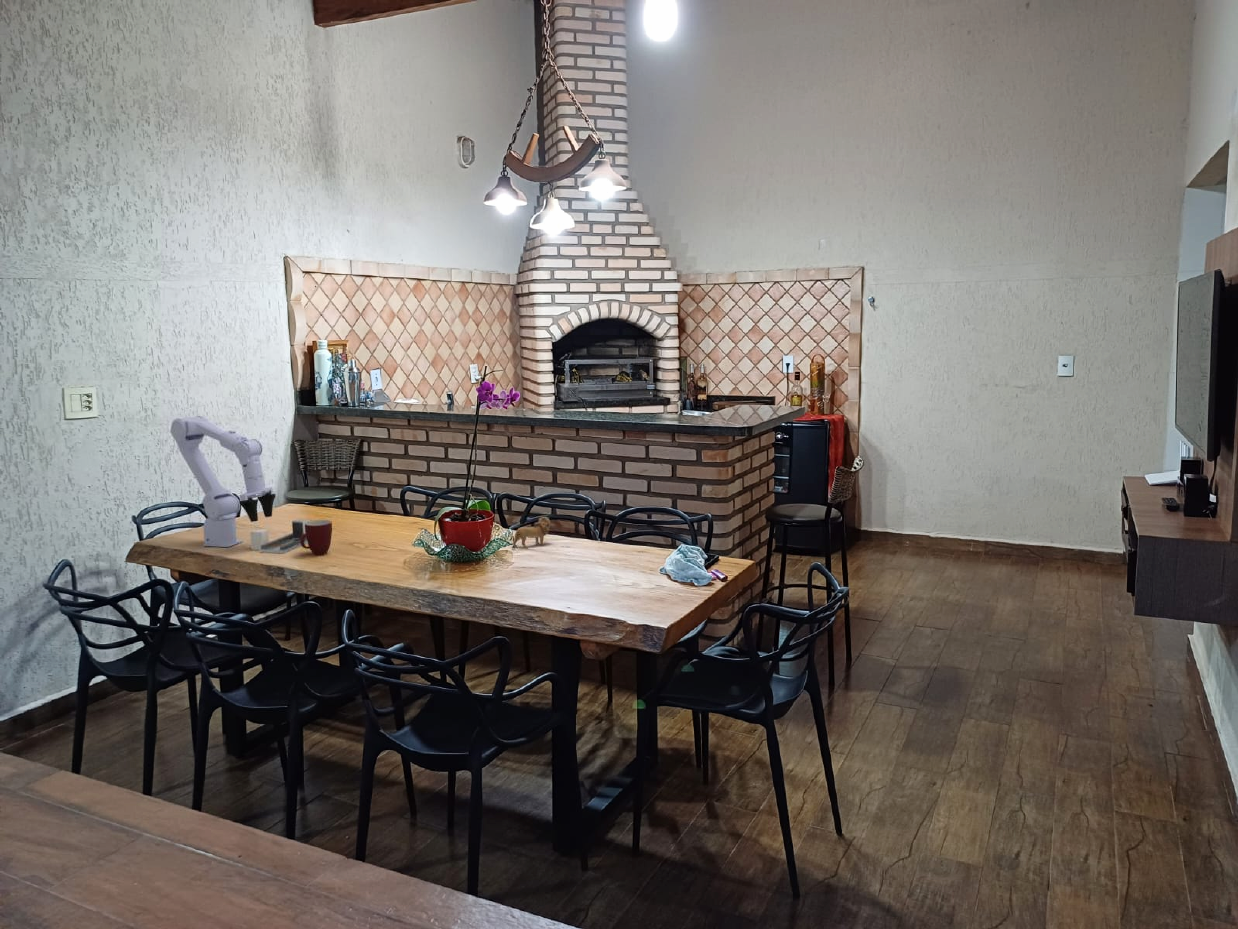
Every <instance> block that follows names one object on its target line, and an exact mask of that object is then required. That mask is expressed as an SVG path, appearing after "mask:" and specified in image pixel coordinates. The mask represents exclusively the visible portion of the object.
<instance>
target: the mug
mask: <svg viewBox="0 0 1238 929" xmlns="http://www.w3.org/2000/svg"><path fill="white" fill-rule="evenodd" d="M332 534H333V523H332V521H331V520H328V519H318V520H317V519H316V520H309V522H306V523H305V534H303V535H302V537H301V540H300V543H301V546H300V547H302V548H303V549H306V550H307V549H308V550H310V552H311V553H312V554H313V555H314V556H323V555H326V554H327V553H328V551H329V550H330V547H331V545H332V544H331V542H332ZM305 538H307V542H308V543H307V545H308V546H307V545H306V544H305V543H304V541H305Z"/></svg>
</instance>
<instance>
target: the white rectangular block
mask: <svg viewBox="0 0 1238 929" xmlns="http://www.w3.org/2000/svg"><path fill="white" fill-rule="evenodd" d="M269 538H270V537H269V529H258V528H257V529H254V530H252V531H250V546H251V550H252V551H261V545H264V544H266V543H269V540H270V539H269Z"/></svg>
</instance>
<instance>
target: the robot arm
mask: <svg viewBox="0 0 1238 929" xmlns="http://www.w3.org/2000/svg"><path fill="white" fill-rule="evenodd" d="M170 434H171V436H172V437H173V439H174V441H175V442H176V444H177V447H178V450H179V452H180V454H181V455H182V457H183V459H184V461H185V462H186V464H187V466H188V468H189V469H190V471H191V472H192V474H193V476H194V478H195V479H196V481H197V484H199V486H200V487H201V489H202V491H203V493H204V494H205V495H204V497H203V499H202V501H201V503H202V505H203V508H204V512H205V514H206V516H207V518H206V519H205V520H204V523H203V537H204V543H203V546H205V547H220V548H229V547H233V546H234V545H238V544H239V543H242V542H244V540H243V539H238V538H237V537H238V536H237V535H238V534H237V524H236V523H237V522H236V520H237V519H236V517H237V516H238V513H239V512H240V509H241V507H242V508H243V510H244V511H245V512H246V514H247V516H248V519H249V521H250V522H251V523H253V522H258V521H259V518H258V515H259V514H258V503H260V505H261V507H262V508H261V509H262V512H263V514H264V518H271V517H273V508H274V501H275V498H276V493H274V489H273V487H266V485H265V483H266V482H265V479H264V478H265V477H264V474H263V467H262V462H261V461H262V460H261V457H260V456H261V455H262V454H263V445H262V444H261V442H260V441H259V440H258V439H257V438H256V439H255V438H252V439H249V438H247V436H242V435H241V434H238V433H237V431H236V430H234V429H231V430H226V431H225V430H223V429H221V428H219V427H218V426H216V425H215V424H213V423H211V422H210V421H209V419H207V418H206V417H203V416H201V415H197V416H191V417H184V418H175V419H173V420H172V422H171V425H170ZM205 436H206V437H209V438H212V439H213V440H216V441H218V442H219V445H220V446H221V447H223V449H224V448H225V449H226V450H229V451H230V452H233V453H234V454H235V457H236V458H237V459H238V462H239V464H240V466H241V469H242V474H243V481H244V484H245V485H244V486H245V491H246V492H245V493H242V494H239V499H240V500H239V499H238V497H237V496H235V495H234V494H233V493H232V491H231V490H230V489H227V488H225V487H223V486H222V484H221V483H220V481H219V480H218V478H217V477H216V475H215V473H214V471H213V470H212V467H211V466H210V464H209V463H208V462H207V459H206V458H205V456H204V454H203V453H202V451H201V449H200V448H199V446H200V445H201V443H202V442H203V440H204V437H205ZM254 498H257V499H254Z"/></svg>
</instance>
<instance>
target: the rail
mask: <svg viewBox="0 0 1238 929" xmlns="http://www.w3.org/2000/svg"><path fill="white" fill-rule="evenodd" d="M306 522H310V520H309V518H296V519H293V520H292V521H291V523H292V524H291V525H292V526H291V528H292V533H289V534H287V535H284V536H281V537H279V538H277V539H274V540H271V541H270V542H269V543H266V544H264V545H261V550H260V552H261V553H264V554H265V553H267V554H269V553H270V554H286V553H289V552H291V551H293V550H295V549H298V548H300V547H302V546H301V543H300V540H301V537H302V535H303V534H305V523H306ZM304 543H305V545H308V542H307V538H305V541H304Z"/></svg>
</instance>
